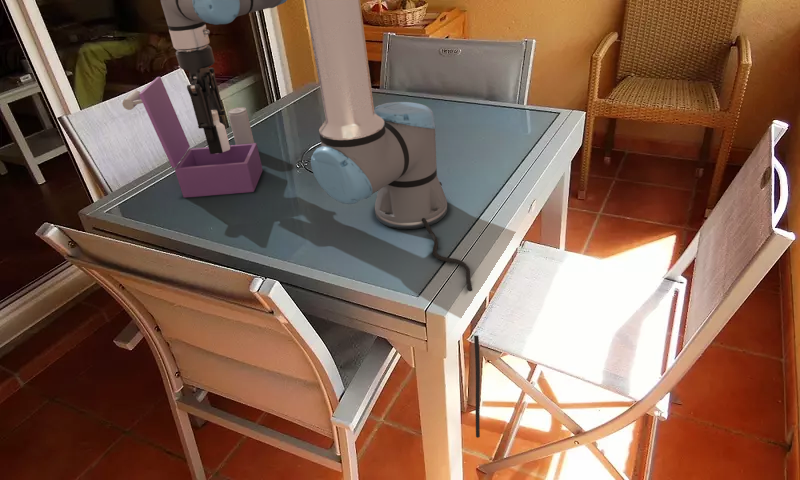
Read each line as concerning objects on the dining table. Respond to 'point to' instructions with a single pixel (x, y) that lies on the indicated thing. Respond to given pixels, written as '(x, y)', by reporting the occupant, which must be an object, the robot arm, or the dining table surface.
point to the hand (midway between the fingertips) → (219, 147)
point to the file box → (219, 171)
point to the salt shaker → (221, 131)
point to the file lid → (161, 119)
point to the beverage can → (240, 126)
